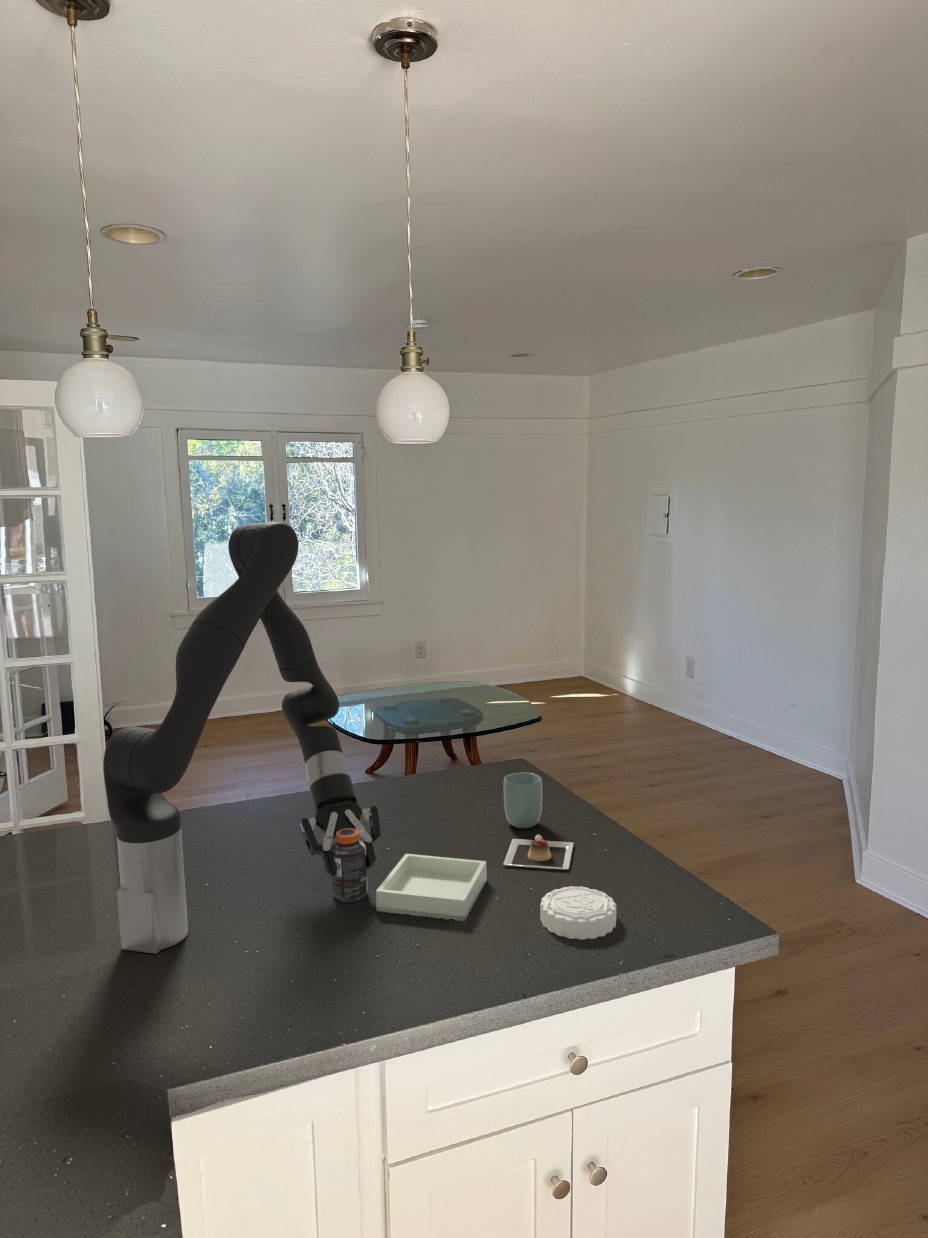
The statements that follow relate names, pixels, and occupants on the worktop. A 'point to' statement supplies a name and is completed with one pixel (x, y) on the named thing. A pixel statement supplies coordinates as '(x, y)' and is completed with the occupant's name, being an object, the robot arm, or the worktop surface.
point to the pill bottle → (349, 866)
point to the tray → (432, 887)
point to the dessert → (539, 852)
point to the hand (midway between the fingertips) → (352, 870)
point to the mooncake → (578, 912)
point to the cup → (523, 799)
